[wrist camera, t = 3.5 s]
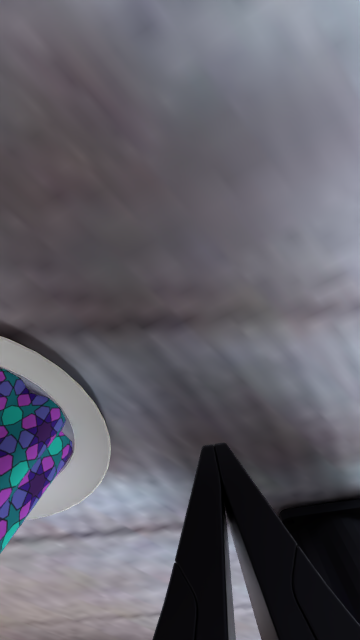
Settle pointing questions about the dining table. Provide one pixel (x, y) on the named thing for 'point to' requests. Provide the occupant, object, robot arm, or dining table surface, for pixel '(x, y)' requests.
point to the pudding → (44, 440)
